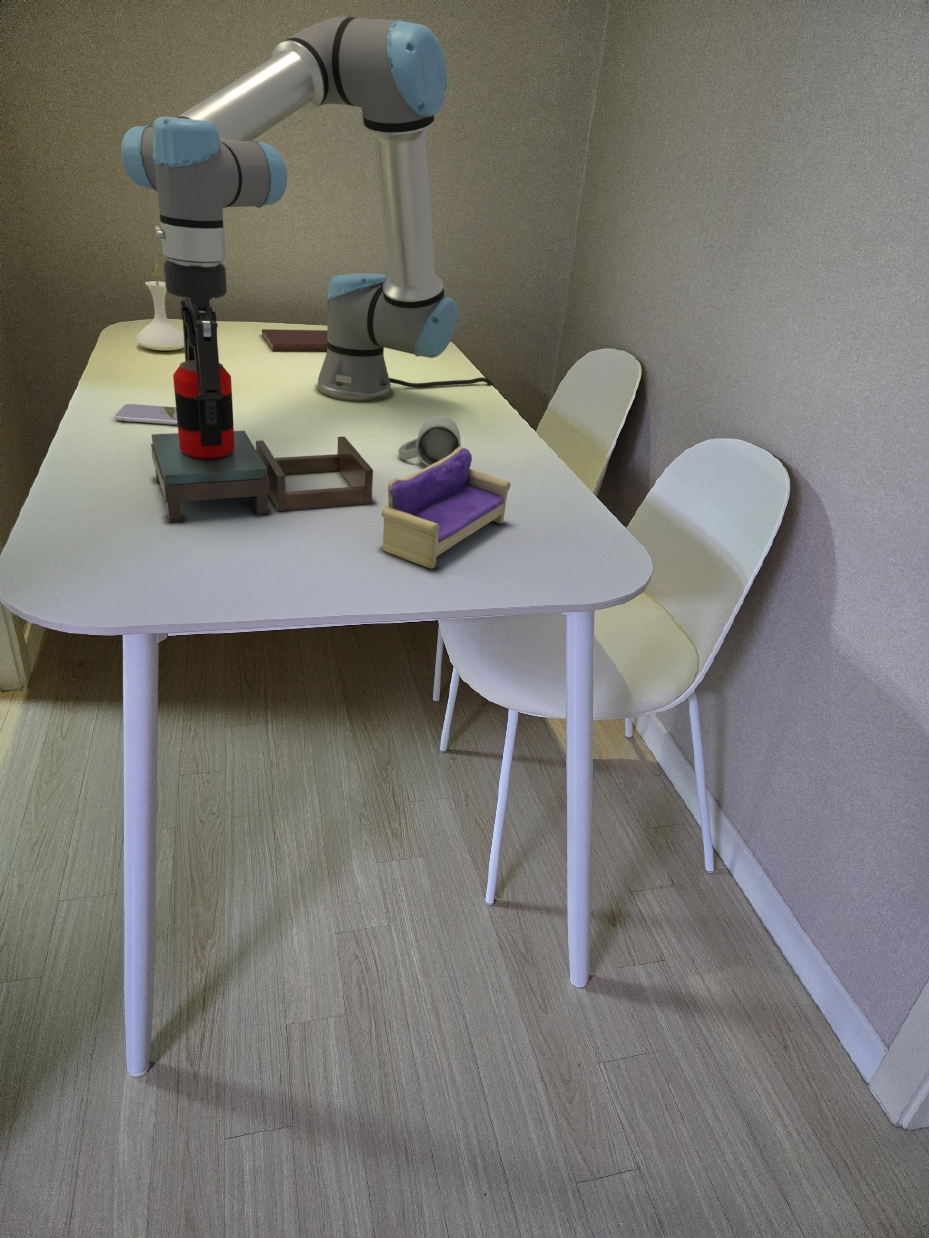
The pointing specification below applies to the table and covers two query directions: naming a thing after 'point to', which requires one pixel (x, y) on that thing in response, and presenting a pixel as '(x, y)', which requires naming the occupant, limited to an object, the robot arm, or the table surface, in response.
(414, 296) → the robot arm
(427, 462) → the ceramic mug
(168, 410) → the mobile phone
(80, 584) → the table surface
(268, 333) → the notebook
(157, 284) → the flower in vase
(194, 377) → the soda can
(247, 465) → the footstool
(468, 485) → the toy sofa
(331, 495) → the can rack
